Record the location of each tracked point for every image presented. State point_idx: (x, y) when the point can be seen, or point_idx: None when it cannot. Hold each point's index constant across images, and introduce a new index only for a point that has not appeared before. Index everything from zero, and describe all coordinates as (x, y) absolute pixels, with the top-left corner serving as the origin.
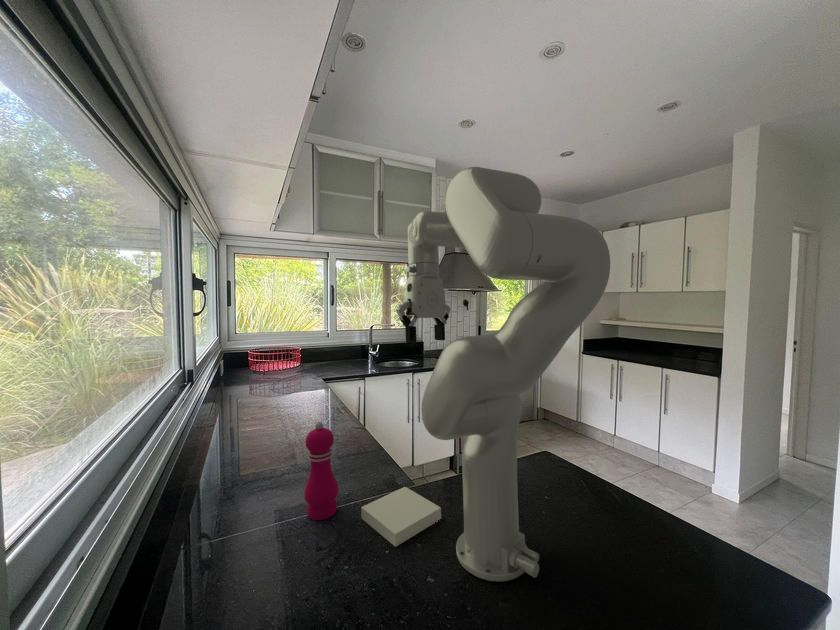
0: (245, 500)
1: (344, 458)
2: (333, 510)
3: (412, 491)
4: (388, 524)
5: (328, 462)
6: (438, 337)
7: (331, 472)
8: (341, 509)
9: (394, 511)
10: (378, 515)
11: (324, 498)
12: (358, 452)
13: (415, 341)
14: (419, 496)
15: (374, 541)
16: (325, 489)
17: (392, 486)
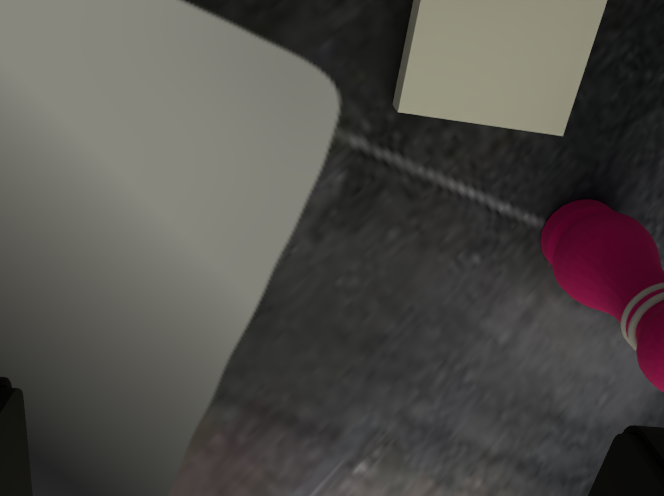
0: (627, 412)
1: (328, 420)
2: (579, 204)
3: (409, 68)
4: (594, 1)
5: (645, 282)
6: (14, 492)
7: (613, 265)
8: (544, 204)
9: (532, 35)
10: (572, 61)
11: (633, 220)
12: (270, 422)
13: (657, 438)
14: (421, 26)
15: (613, 18)
16: (637, 232)
17: (369, 180)
